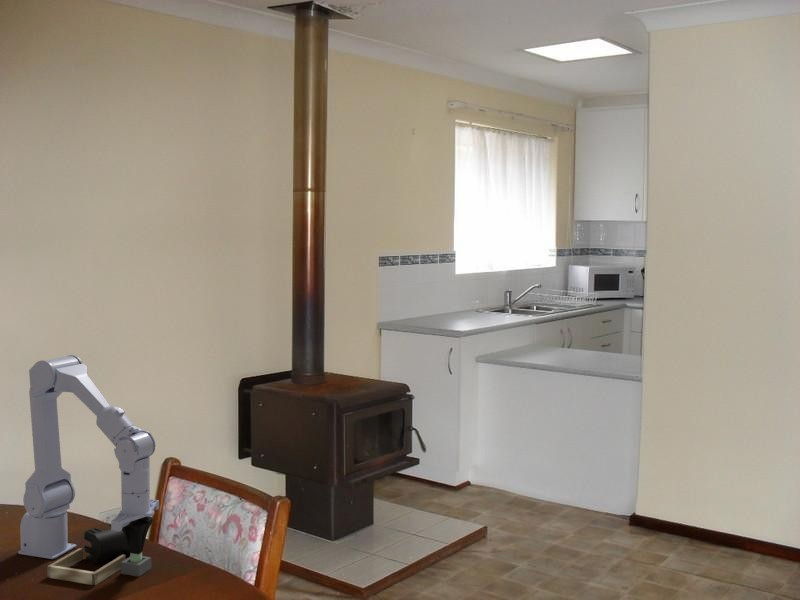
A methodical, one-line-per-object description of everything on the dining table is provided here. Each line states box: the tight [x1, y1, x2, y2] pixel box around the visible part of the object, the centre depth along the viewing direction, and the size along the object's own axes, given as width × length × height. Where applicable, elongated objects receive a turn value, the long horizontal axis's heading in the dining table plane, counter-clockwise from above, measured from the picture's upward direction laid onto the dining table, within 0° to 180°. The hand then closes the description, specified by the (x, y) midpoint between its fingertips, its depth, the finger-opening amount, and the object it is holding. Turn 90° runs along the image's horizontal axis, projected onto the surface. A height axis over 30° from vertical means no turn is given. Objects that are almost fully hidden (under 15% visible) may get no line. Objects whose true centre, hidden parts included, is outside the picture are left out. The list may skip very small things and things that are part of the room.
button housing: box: [120, 555, 152, 578], centre depth 182 cm, size 4×4×2 cm
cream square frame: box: [46, 547, 127, 586], centre depth 181 cm, size 12×10×2 cm
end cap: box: [83, 523, 130, 564], centre depth 189 cm, size 10×7×7 cm
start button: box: [129, 551, 143, 563], centre depth 181 cm, size 2×2×3 cm
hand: (136, 552), depth 181 cm, fingers closed
